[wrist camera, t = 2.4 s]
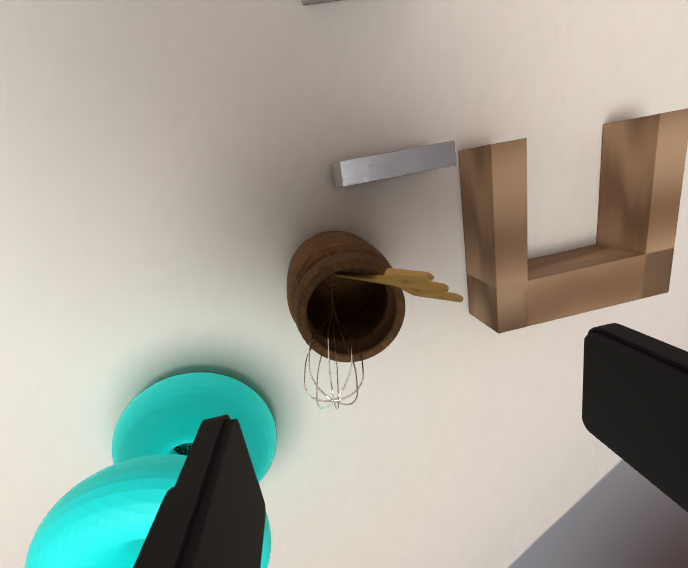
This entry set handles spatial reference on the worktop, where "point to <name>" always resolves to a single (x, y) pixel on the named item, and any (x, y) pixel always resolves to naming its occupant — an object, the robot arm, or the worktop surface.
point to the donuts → (148, 471)
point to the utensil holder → (350, 299)
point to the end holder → (585, 263)
